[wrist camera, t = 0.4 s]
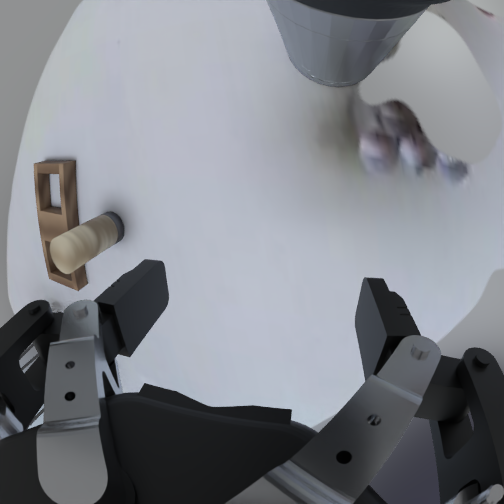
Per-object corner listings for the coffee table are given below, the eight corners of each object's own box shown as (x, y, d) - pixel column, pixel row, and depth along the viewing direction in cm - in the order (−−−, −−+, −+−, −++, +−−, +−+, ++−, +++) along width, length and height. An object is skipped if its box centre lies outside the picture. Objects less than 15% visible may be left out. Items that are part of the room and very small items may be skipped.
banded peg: (99, 209, 35) (47, 234, 26) (123, 213, 34) (70, 241, 25) (101, 239, 36) (53, 269, 27) (125, 244, 36) (76, 278, 27)
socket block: (45, 160, 34) (33, 163, 31) (75, 160, 33) (63, 163, 30) (58, 272, 42) (49, 278, 40) (87, 283, 41) (78, 291, 39)
